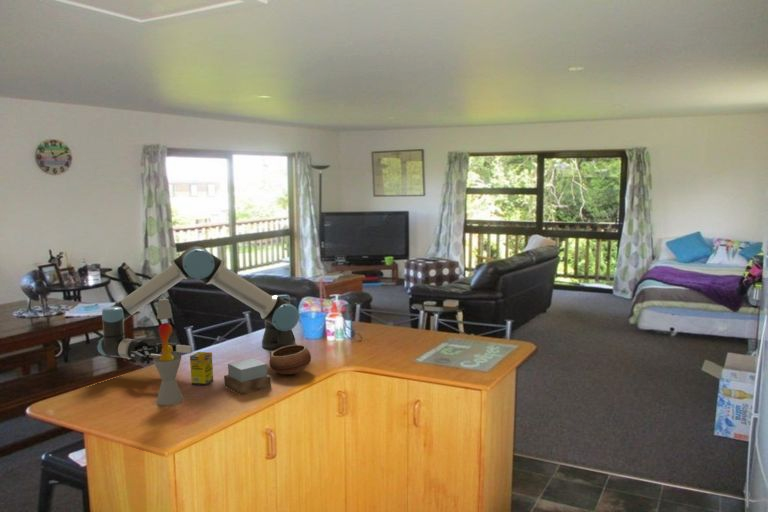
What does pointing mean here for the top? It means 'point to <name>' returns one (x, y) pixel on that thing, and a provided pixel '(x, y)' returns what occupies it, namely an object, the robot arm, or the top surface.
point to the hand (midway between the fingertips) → (178, 354)
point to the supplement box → (201, 368)
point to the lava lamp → (167, 360)
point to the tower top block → (247, 370)
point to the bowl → (290, 359)
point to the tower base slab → (247, 384)
